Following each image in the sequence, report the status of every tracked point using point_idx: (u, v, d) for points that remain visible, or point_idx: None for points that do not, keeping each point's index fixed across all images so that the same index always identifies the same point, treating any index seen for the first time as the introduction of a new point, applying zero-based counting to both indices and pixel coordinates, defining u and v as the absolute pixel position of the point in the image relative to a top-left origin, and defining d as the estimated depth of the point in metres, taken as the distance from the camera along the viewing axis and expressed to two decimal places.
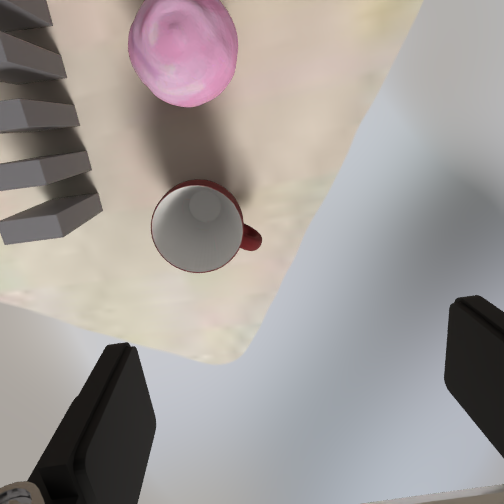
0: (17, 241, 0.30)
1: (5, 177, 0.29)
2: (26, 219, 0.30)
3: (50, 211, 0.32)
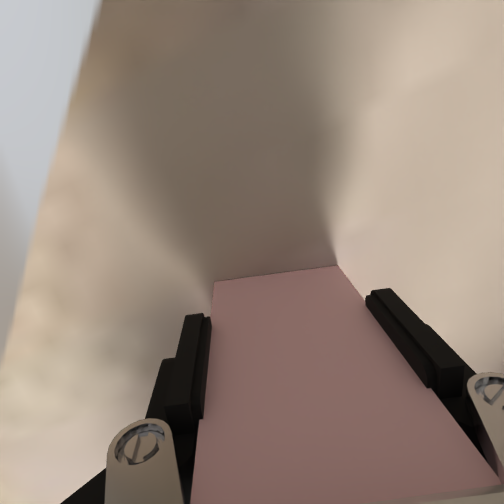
0: None
1: None
2: None
3: None
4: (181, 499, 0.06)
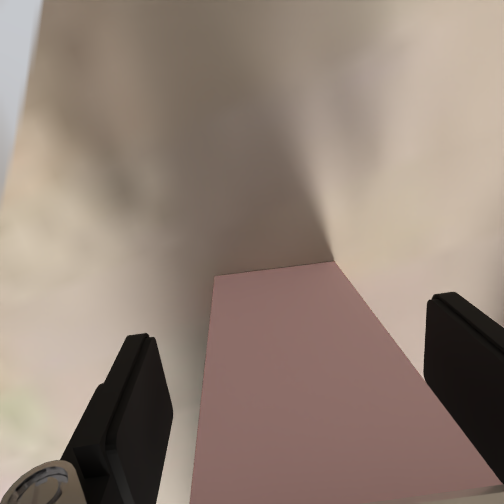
0: None
1: None
2: None
3: None
4: None
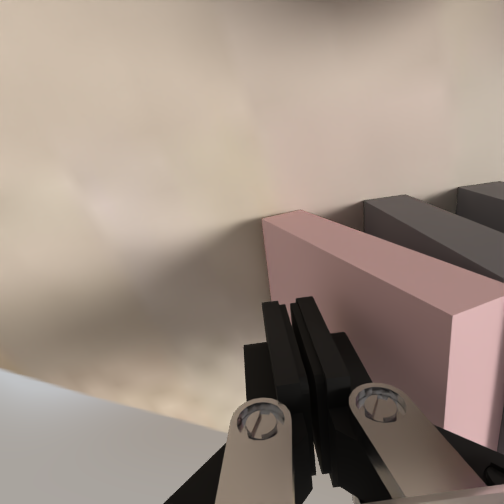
0: None
1: None
2: None
3: None
4: (291, 492, 0.06)
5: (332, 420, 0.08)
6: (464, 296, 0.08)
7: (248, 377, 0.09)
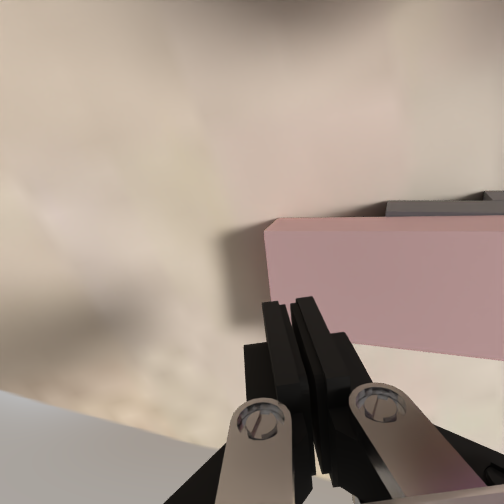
0: None
1: None
2: None
3: None
4: (291, 492, 0.06)
5: (332, 420, 0.08)
6: None
7: (248, 377, 0.09)
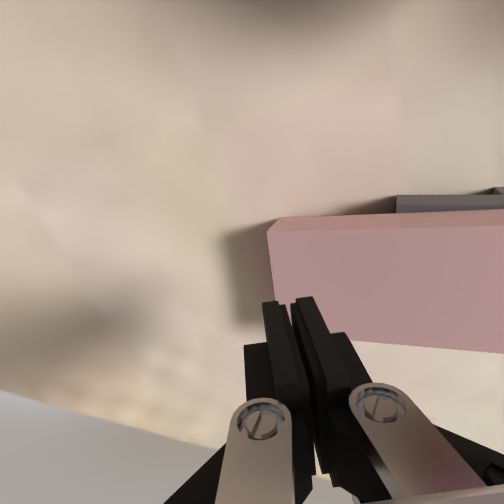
0: None
1: None
2: None
3: None
4: (291, 492, 0.06)
5: (332, 420, 0.08)
6: None
7: (248, 377, 0.09)
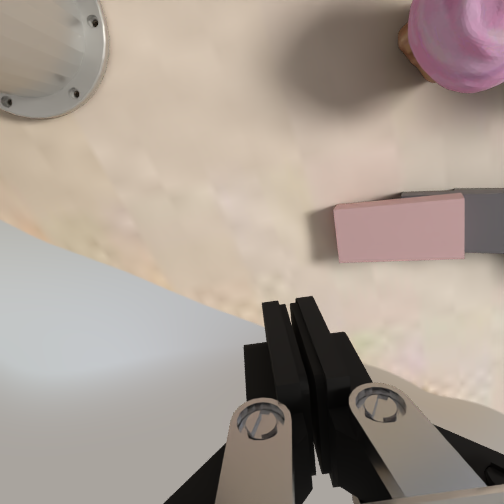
0: None
1: None
2: None
3: None
4: (291, 492, 0.06)
5: (332, 420, 0.08)
6: (456, 196, 0.28)
7: (248, 377, 0.09)
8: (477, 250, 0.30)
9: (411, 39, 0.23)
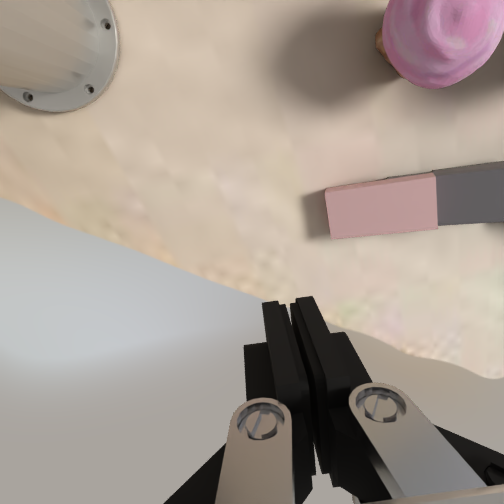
0: None
1: None
2: None
3: None
4: (291, 492, 0.06)
5: (332, 420, 0.08)
6: (429, 175, 0.33)
7: (248, 377, 0.09)
8: (455, 222, 0.35)
9: (385, 43, 0.28)
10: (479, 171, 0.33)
